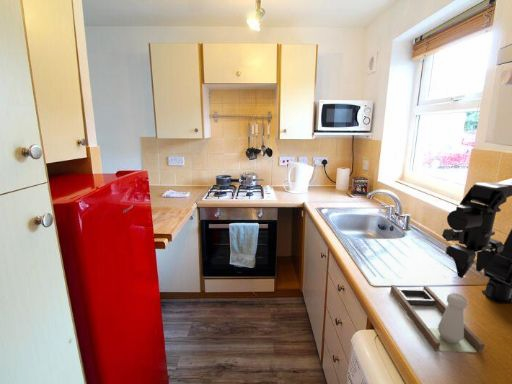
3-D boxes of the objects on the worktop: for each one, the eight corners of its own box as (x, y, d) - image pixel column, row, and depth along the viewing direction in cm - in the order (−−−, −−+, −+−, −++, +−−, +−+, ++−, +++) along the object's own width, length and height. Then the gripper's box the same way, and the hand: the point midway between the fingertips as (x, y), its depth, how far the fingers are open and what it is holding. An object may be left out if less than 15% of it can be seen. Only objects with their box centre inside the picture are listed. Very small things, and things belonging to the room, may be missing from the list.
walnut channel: (425, 292, 96) (426, 285, 96) (482, 352, 71) (484, 344, 71) (390, 291, 97) (391, 285, 96) (434, 351, 72) (436, 342, 71)
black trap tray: (423, 294, 95) (424, 289, 95) (433, 306, 89) (434, 300, 89) (396, 294, 95) (397, 288, 95) (405, 305, 90) (406, 299, 89)
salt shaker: (451, 330, 78) (460, 289, 75) (467, 346, 73) (477, 302, 70) (431, 331, 78) (439, 290, 75) (446, 347, 72) (455, 303, 69)
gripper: (469, 214, 93) (460, 257, 96) (432, 221, 85) (424, 267, 89) (509, 225, 83) (498, 272, 87) (472, 235, 75) (461, 286, 79)
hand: (469, 273), depth 86 cm, fingers open, 9 cm apart
